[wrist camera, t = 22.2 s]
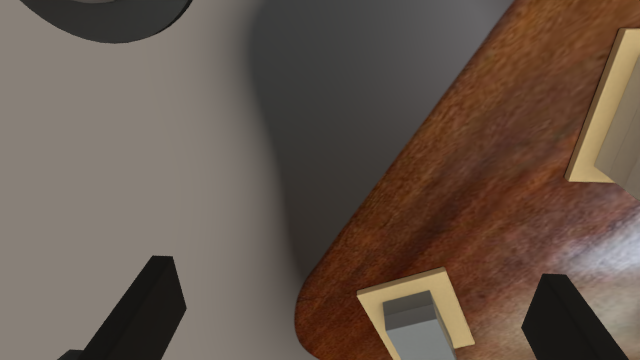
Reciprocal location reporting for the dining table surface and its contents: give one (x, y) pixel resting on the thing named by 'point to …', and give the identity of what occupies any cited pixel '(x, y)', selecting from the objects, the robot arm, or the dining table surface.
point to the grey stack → (418, 316)
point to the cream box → (612, 118)
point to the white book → (634, 181)
